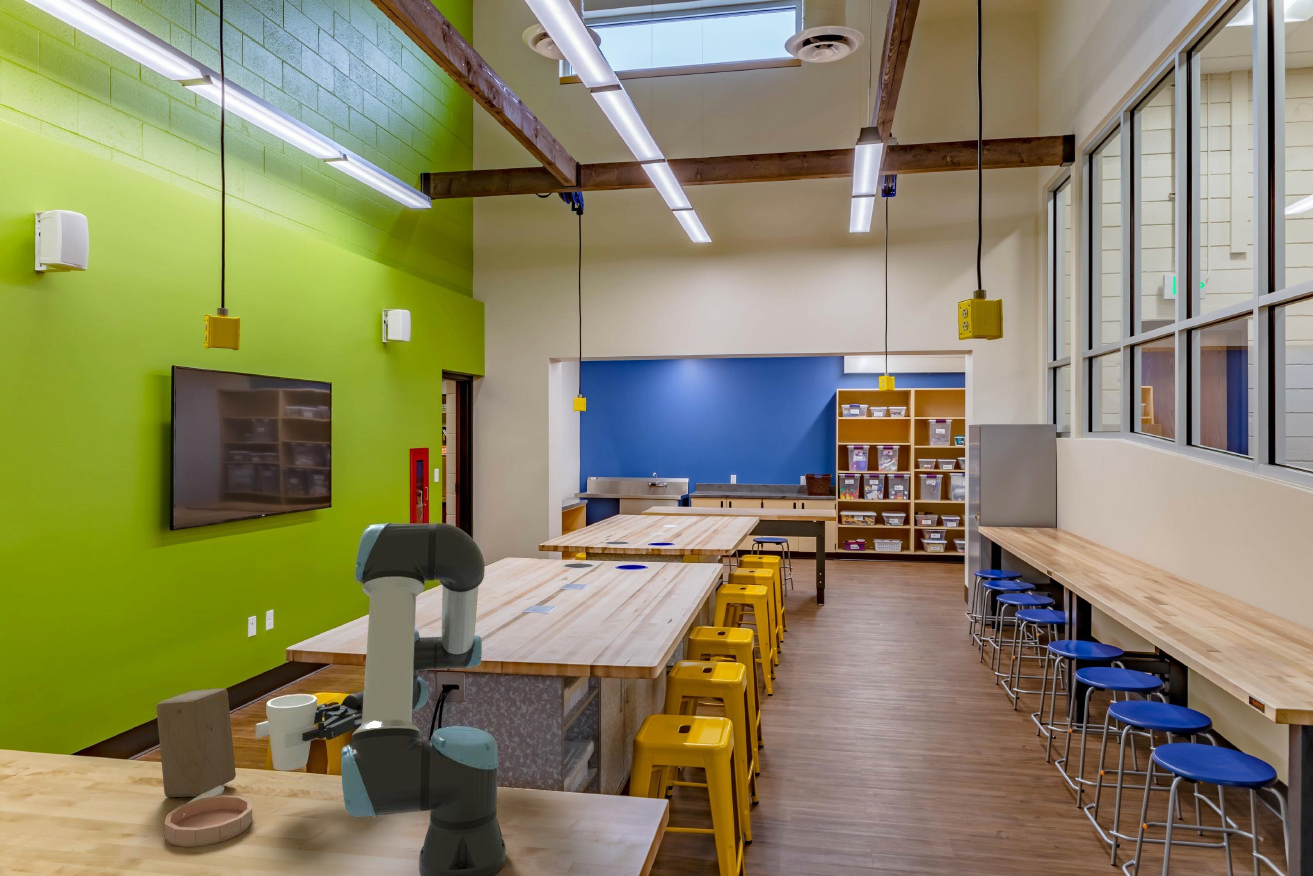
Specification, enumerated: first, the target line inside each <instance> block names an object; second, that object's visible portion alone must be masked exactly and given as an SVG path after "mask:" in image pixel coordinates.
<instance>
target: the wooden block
mask: <svg viewBox="0 0 1313 876" xmlns="http://www.w3.org/2000/svg"><path fill="white" fill-rule="evenodd" d="M156 717H157V719H156V720H157V727H158V740H159V749H160V758H161V759H160V761H161V772H162V781H163V791H164V796H165V797H167V798H178V797H179V798H182V797H198V796H199V795H201V794H203V793H205V792H207V791H209V790H211V789H213V788H215V787H217V786H219V785H221V786H225V785H226V784H228V783H229V782H231V781H233V780H235V778H236V776H237V775H236V774H237V772H236V764H235V763H236V762H235V754H234V753H235V751H234V743H233V733H232V732H233V731H232V723H231V713H230V703H229V692H228V690H227V688H222V687H221V688H212V689H210V688H209V689H199V690H197V689H196V690H191V691H188V692H185V693H181V694H179V695H176V696H173V697H171V698H168V699H165V700H162V701H160V702H159V703H157V704H156Z"/></svg>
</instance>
